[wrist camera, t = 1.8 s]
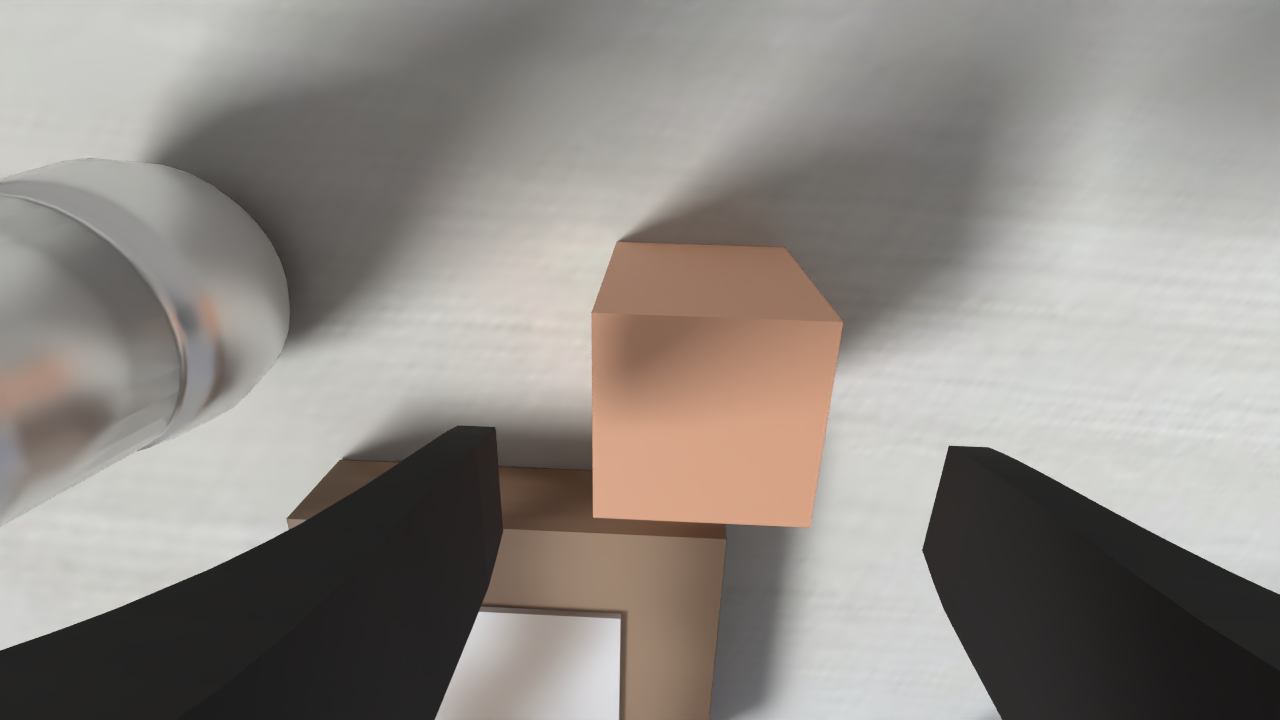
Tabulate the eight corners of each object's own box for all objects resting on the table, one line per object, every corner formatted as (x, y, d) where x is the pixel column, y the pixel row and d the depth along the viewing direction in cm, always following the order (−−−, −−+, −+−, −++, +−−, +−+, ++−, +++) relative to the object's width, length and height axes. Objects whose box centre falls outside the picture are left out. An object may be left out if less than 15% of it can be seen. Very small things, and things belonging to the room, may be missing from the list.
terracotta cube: (784, 247, 17) (843, 321, 11) (767, 397, 18) (810, 527, 13) (616, 241, 17) (591, 312, 11) (615, 391, 18) (593, 517, 13)
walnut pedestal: (718, 476, 19) (727, 544, 16) (695, 738, 24) (699, 827, 21) (339, 459, 20) (282, 523, 17) (390, 721, 24) (352, 806, 21)
